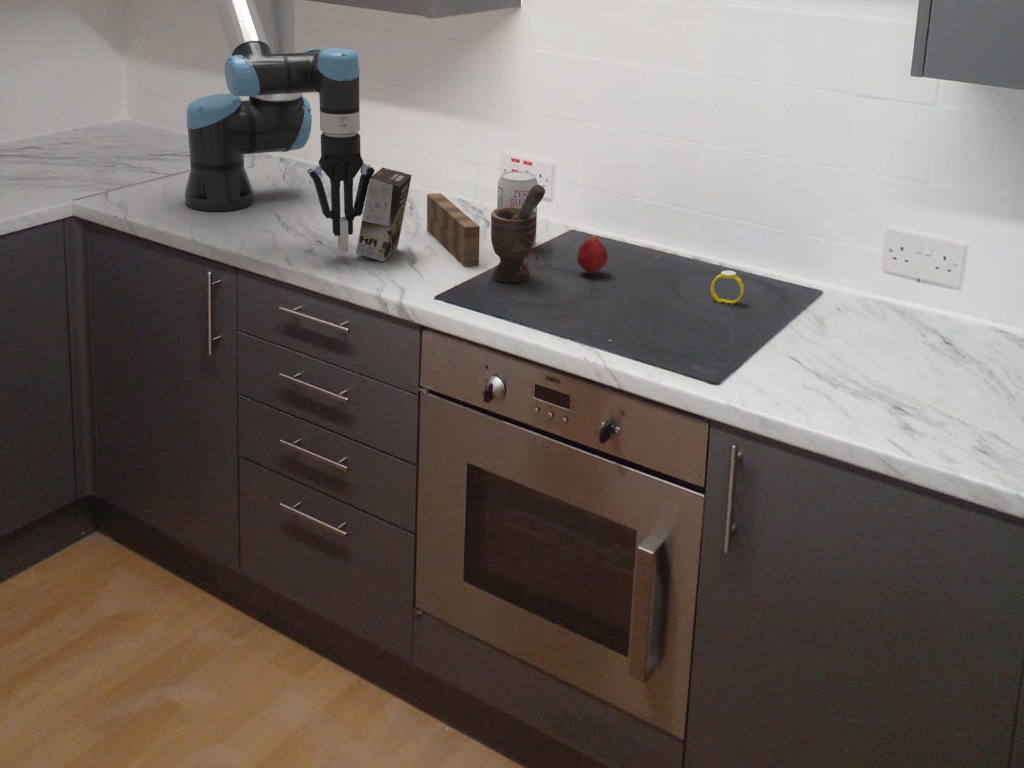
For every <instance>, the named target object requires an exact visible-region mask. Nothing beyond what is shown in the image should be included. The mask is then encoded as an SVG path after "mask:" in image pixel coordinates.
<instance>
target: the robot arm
mask: <svg viewBox="0 0 1024 768" xmlns="http://www.w3.org/2000/svg"><path fill="white" fill-rule="evenodd" d="M213 3H214V6H215V9H216V12H217V16H218V18H219V22H220V25H221V29H222V32H223V34H224V37H225V40H226V43H227V46H228V50H229V53H230V56H228V57H227V58H226V59H225V62H224V77H225V81H226V82H225V83H226V84H225V85H226V86H227V87H226V88H227V89H228V91H229V93H216V94H211V95H206V96H205V95H204V96H202V97H198V98H195V99H194V100H192V101H191V102H190V103H189V104H188V106H187V107H186V126H185V127H186V128H187V137H188V150H189V162H190V171H189V175H188V178H187V179H188V180H187V183H186V188H185V191H184V201H185V202H184V203H185V205H186V206H187V207H189V208H191V209H195V210H199V211H205V212H228V211H229V212H230V211H235V210H240V209H245V208H247V207H249V206H252V205H253V204H254V202H255V194H254V189H253V187H252V184H251V181H250V179H249V177H248V174H247V171H246V168H245V156H246V155H254V154H265V153H287V152H289V151H296V150H297V151H298V150H301V149H302V148H304V147H305V146H306V144H307V143H308V141H309V138H310V135H311V131H312V122H313V121H312V119H313V117H312V114H311V113H312V111H311V110H312V109H311V105H310V102H309V100H308V99H307V98H306V97H304V96H303V94H306V93H318V95H319V119H320V121H319V123H320V126H319V127H320V128H319V130H320V131H321V132H322V133H321V134H320V153H321V156H320V159H319V160H318V165H316V166H315V167H313V168H309V169H308V171H307V174H308V175H309V176H310V178H311V179H312V181H313V183H314V187H315V191H316V195H317V198H318V201H319V205H320V208H321V211H322V215H324V217H325V218H327V219H331V220H332V226H331V227H332V233H333V235H334V236H335V237H337V249H338V250H339V252H340V253H349V245H350V244H349V235H353V234H354V220H355V218H356V217H360V216H363V212H364V207H365V202H366V196H367V191H368V186H369V181H370V178H371V177H372V176H373V175H374V174H375V169H374V167H373V166H371V164H366V162H364V160H363V158H362V155H361V135H360V133H359V132H360V130H361V122H360V121H361V119H360V118H361V117H360V74H361V68H360V65H359V64H360V63H359V56H358V53H357V52H356V50H353V49H350V48H349V49H348V48H346V47H344V48H343V47H329V48H323V49H322V48H310V49H308V48H307V49H306V50H304V51H303V52H296V37H295V36H296V29H295V26H296V24H295V23H296V21H295V19H296V18H295V17H296V16H295V15H296V13H295V5H296V4H295V0H213ZM240 97H248V98H249V99H248V100H242V98H240ZM322 171H323V172H324V174H325V175H326V176H327V178H329V183H330V204H331V205H329V201H328V198H327V195H326V191H325V188H324V184H323V181H322V177H323V174H322ZM358 172H360V176H359V181H358V185H357V190H356V195H355V200H354V179H355V177H356V176H357V174H358ZM341 182H343V206H344V207H343V209H344V211H343V212H344V216H341V188H340V187H341ZM330 207H331V209H330Z"/></svg>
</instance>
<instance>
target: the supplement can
mask: <svg viewBox="0 0 1024 768" xmlns="http://www.w3.org/2000/svg"><path fill="white" fill-rule="evenodd" d="M536 178H537V177H536V174H533V173H532V172H526V171H516V170H515V171H511V170H510V171H507V172H503V173H501V175H500V177H499V179H498V181H497V198H496V199H497V201H496V202H497V203H496V209H497V208H501V207H508V206H515V207H520V208H521V207H522V205H523V203H524V201H525V199H526V197H527V195H528V193H529V191H530V190H531V188H532V187H533V186H535V185H539V183H538V179H536ZM533 211H534V212H535V213H536V214H537V215H538V205H537V206H536V207H535V208H534V209H533ZM537 220H538V218H537V219H536V227H535V239H534V244H533V247H532V249H533V248H534V247H535V246H536V245H537V226H538V225H537V224H538V223H537V222H538V221H537Z"/></svg>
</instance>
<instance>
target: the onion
mask: <svg viewBox="0 0 1024 768" xmlns="http://www.w3.org/2000/svg"><path fill="white" fill-rule="evenodd" d="M598 238H599V237H598V235H597V234H596V235H595V234H594V235H592V236H591V237H590V238H589V239H587V240H586V241H584V242H583V243H582V244H581V246H579V249H578V251H577V263H578V266H579V267H581V268H582V270H584V271H585V272H587V273H588V274H589V275H595V274H596V273H597V272H599V271H600V270H601V269H602V268H603V267H605V266H606V265H607V264H606V263H607V262H608V252H607V249H606V247H605V245H604V244H603V243H602V242H601V241H599V240H598Z"/></svg>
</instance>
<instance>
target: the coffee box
mask: <svg viewBox="0 0 1024 768" xmlns="http://www.w3.org/2000/svg"><path fill="white" fill-rule="evenodd" d="M412 177H413V176H412V174H409V173H405V172H402V171H398V170H395V169H390V168H385V167H381V168H380V169H379V170H377V171H376V172H374V173H373V175H372V177H371V178H370V180H369V185H368V189H367V194H366V198H365V203H364V207H363V212H362V218H361V224H360V229H359V235H358V241H357V246H356V249H355V254H357V255H360V256H363V257H366V258H370V259H373V260H376V261H379V262H382V263H383V262H384V263H385V262H386V261H387V260H388V258H390V257H391V256H392V254H394V253H395V252H396V250H398V248H399V247H398V246H399V242H400V237H401V232H402V226H403V222H404V216H405V209H406V206H407V200H408V195H409V190H410V187H411V186H410V185H411V180H412Z"/></svg>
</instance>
